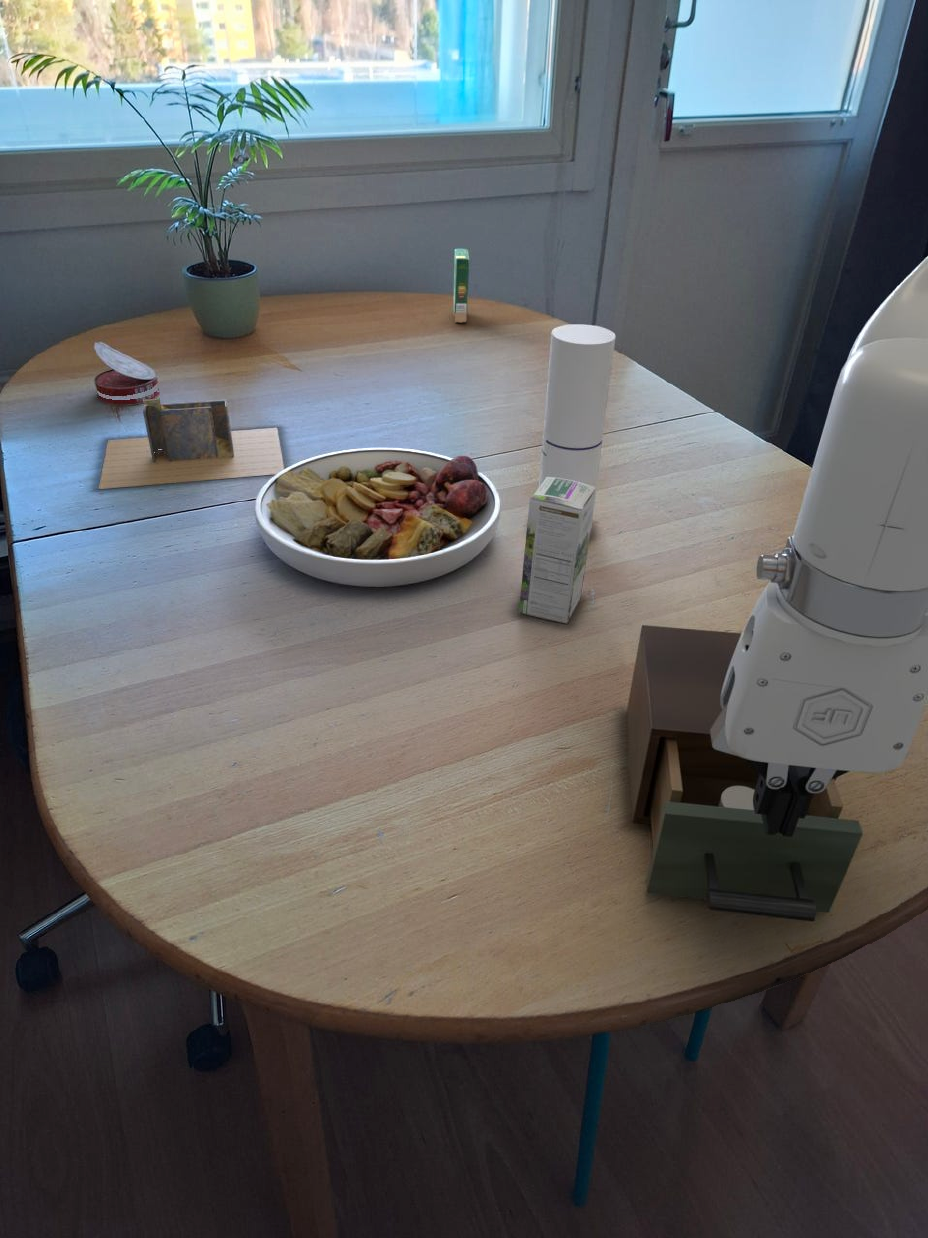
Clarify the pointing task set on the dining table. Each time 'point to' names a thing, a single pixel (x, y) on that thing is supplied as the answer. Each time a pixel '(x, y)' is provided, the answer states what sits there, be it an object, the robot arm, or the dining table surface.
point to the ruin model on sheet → (190, 448)
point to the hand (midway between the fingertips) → (774, 818)
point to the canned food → (123, 377)
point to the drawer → (740, 839)
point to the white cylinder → (737, 798)
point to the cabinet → (672, 697)
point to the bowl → (378, 515)
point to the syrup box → (556, 548)
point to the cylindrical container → (576, 402)
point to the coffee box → (461, 280)
